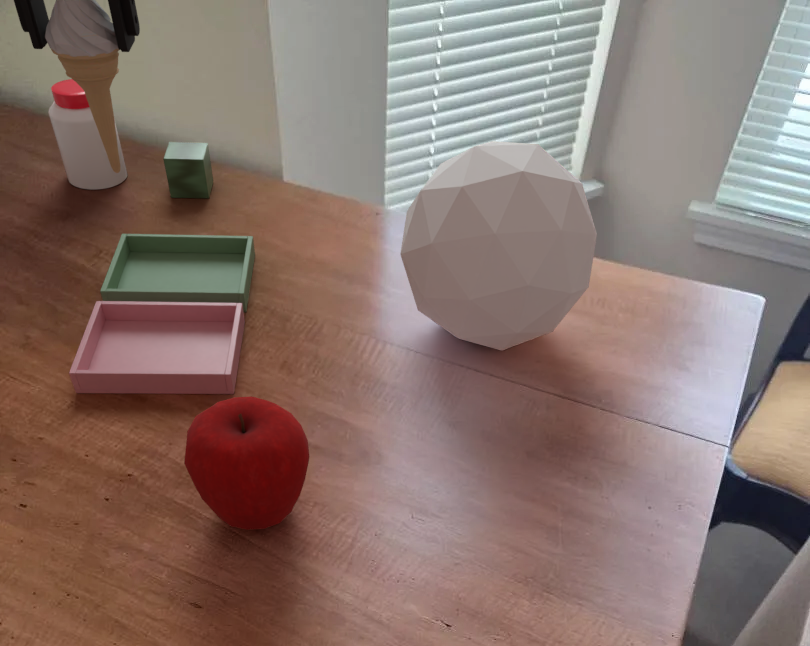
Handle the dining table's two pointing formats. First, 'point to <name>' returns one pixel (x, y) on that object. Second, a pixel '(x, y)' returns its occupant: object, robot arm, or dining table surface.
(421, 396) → the dining table surface
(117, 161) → the ice cream cone
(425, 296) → the ball
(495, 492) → the dining table surface
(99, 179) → the pill bottle
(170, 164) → the green block
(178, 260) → the green tray
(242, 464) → the apple
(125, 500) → the dining table surface
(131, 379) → the pink tray
